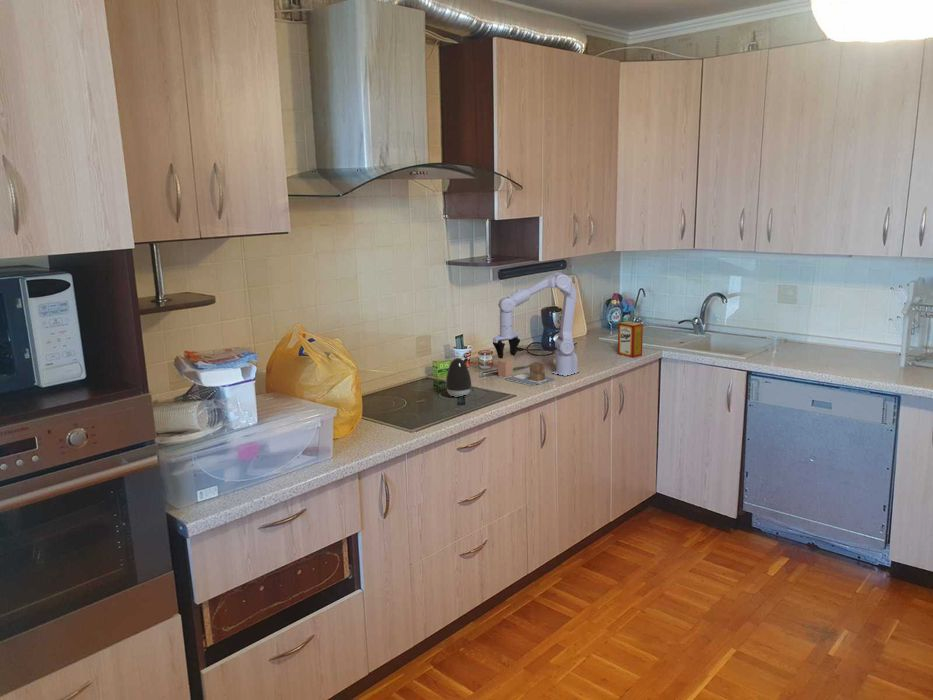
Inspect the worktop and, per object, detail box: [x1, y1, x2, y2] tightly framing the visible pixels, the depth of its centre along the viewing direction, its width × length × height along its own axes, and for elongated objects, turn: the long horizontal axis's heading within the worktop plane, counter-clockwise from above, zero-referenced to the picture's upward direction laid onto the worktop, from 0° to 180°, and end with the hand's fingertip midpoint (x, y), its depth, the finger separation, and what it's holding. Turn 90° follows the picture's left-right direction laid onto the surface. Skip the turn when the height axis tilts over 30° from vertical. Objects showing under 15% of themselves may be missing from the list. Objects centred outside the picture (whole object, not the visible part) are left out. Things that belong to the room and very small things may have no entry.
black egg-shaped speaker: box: [445, 357, 472, 398], centre depth 279 cm, size 10×10×15 cm
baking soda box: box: [617, 320, 644, 359], centre depth 341 cm, size 10×6×16 cm
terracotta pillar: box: [497, 359, 514, 377], centre depth 307 cm, size 4×4×7 cm
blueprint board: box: [504, 372, 556, 385], centre depth 302 cm, size 14×16×1 cm
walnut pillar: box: [529, 361, 546, 382], centre depth 298 cm, size 4×4×7 cm
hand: (506, 356), depth 306 cm, fingers open, 7 cm apart
